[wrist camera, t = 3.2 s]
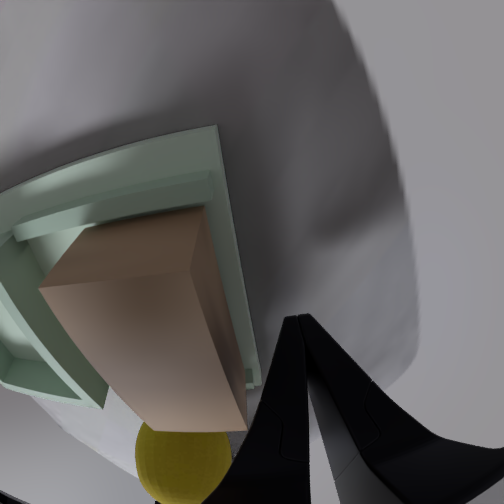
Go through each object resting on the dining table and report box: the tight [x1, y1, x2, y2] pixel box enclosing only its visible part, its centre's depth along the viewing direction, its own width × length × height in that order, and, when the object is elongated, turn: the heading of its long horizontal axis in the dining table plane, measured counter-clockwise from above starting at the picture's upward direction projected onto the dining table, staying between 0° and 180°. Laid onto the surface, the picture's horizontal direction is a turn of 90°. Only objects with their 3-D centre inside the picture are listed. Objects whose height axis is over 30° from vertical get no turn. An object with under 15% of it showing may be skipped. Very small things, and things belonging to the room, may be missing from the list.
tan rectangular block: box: [38, 205, 248, 432], centre depth 9 cm, size 8×4×3 cm, turn 7°
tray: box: [0, 125, 262, 409], centre depth 10 cm, size 12×17×3 cm
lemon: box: [135, 422, 232, 504], centre depth 13 cm, size 6×6×8 cm
